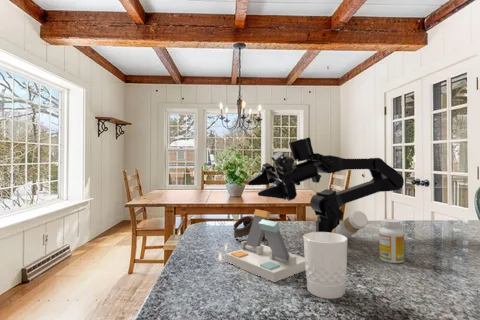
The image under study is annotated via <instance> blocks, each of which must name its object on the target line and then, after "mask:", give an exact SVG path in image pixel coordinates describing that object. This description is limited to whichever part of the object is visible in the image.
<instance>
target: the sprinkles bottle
mask: <svg viewBox="0 0 480 320" xmlns="http://www.w3.org/2000/svg"><path fill="white" fill-rule="evenodd" d="M368 222H369V219H368V217H367V215H366V213H364V212H363V211H361V210H354V211H353V212H351V213H350V214H349V215H348V216H347V218H345V219H344V220H343V221H342V222H341V221H340V224H339V225H338V226H337V227H336V228H334V229H333V230H332V233H336V234H340V235H343V236H345V237H347V239H349V238H351V237H352V236H353V235H355V234H356V233H357V232H358V231H360V230H361V229H364V228H365V227H366V226H367V225H368Z"/></svg>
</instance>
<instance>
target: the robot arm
mask: <svg viewBox="0 0 480 320" xmlns="http://www.w3.org/2000/svg"><path fill="white" fill-rule="evenodd" d="M288 145H289V148H290V151H291V156H292V157H291V156H288V157H287V155H286V154H285V153H283V152H281V151H277V152H276V153H274V154H273V155H271V156H270V158H271V160H272V161H273V162H274V163H275V166H273V165H272V164H270V163H269V162H266V163H263V164H262V167H261V170H260V172H259V173H258V174H257V175H255V176H254V177H253V178H251V179H250V180H248V181H247V183H248V185H249V186H265V185H266V186H267V187H265V188H263V189H261V190H260V191H258V192H257V195H258V196H259V197H266V198H276V199H280V200H281V199H282V200H284V201H285V200H287V201H288V202H290V201H292V200H295V199H296V197H297V196H298V195H297V188H296V187H297V186H300V185H301V183H302V182H305V181H308V180H310V179H311V181H312V183H316V184H317V183H320V181H321V178H322V175H321V174H333V173H339V172H342V171H345V170H346V171H347V170H368V171H369V172H370V175H371V177H372V178H371V179H370V180H369V181H366V182H363V183H360V184H356V185H354V186H351V187H347V188H346V189H342V190H339V191H336V190H333V189H327V188H326V189H323V190H322V191H320V192H317V191H316V192H315V194H313V196H311V199H310V201H309V204H310V208H311V209H312V210H313V211H314V214H315V216H317V218H316V219H317V220H316V221H315V232H329V233H332V230H333V229H334V228H336V227H337V226H338V225H339V224H340V223H341V221H340V220H342V219H343V217H344V211H343V210H341V208H342V207H343V205H346V204H348V203H351V202H353V201H354V202H355V201H356V200H359V199H363V198H366V197H368V196H371V195H374V194H376V193H381V192H383V193H384V192H395V191H400V190H401V189H403V186H404V184H405V182H404V181H405V180H404V177H403V175H402V174H400V173H399V172H398V171H397V170H396V169H395V168H393V167H392V166H391V165H389V164H387V163H386V162H385V160H383V159H382V158H381V157H370V158H344V157H339V156H336V155H330V154H329V155H323V154H321V153H318V152H314V149H313V146H312V139H311V137H310V136H309V137H305V138H302V139H301V138H299V139H297V140H293V141H290V142H288ZM295 161H297V163H296V164H295ZM299 162H300V163H299ZM270 184H272V185H270ZM268 185H269V186H268Z"/></svg>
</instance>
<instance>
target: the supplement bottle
mask: <svg viewBox="0 0 480 320" xmlns="http://www.w3.org/2000/svg"><path fill="white" fill-rule="evenodd" d="M381 225H382V227H381V228H379V229H378V247H379V248H378V251H379V252H378V253H379V259H380V260H381V261H383V262H385V263H390V264H402V263H404V262H405V234H404V233H405V232H404V230H402V228H401V220H399V219H396V218H395V219H394V218H383V219H381ZM400 228H401V229H400Z"/></svg>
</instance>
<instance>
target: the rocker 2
mask: <svg viewBox="0 0 480 320" xmlns="http://www.w3.org/2000/svg"><path fill="white" fill-rule="evenodd" d="M259 225H260V228H261V229H263V231H264V234H265V238H266V239H265V240H267V243H268V245H269V246H268V247H270V248H271V251H272V253H273V255H274V258H275V259H277V260H280V261H283V262H286V263H289V257H290V256H289V253H290V252H289V251H288V248H287V246H286V243H285V241H284V238H283V236H282V234H281V231H280V230H281V227H280V225H279V222H277V221H273V220H270V219H268V220H264V219H262V220H261V221H260V222H259Z"/></svg>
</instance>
